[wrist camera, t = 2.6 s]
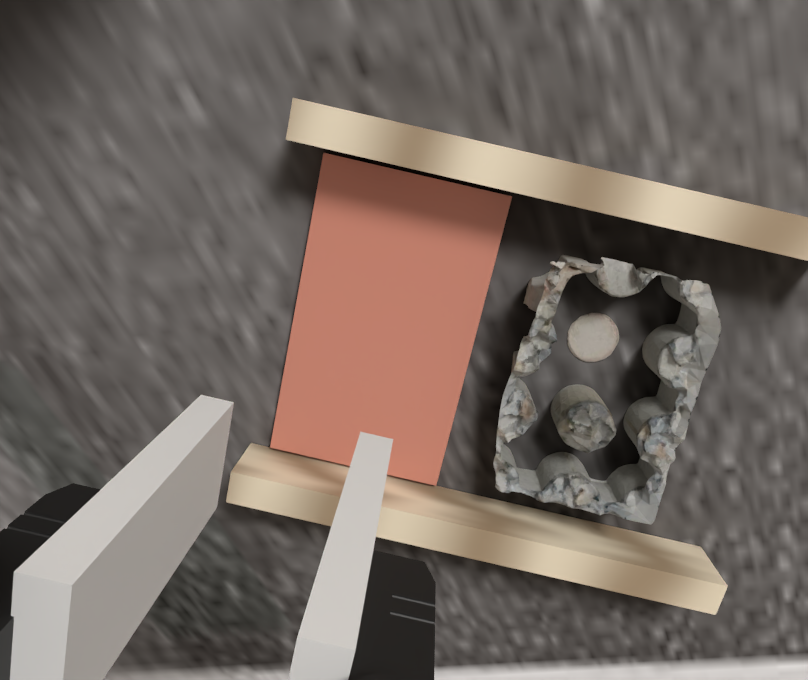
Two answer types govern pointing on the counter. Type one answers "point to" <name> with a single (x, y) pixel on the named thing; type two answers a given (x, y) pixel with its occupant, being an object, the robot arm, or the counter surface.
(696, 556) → the channel
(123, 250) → the counter surface
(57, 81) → the counter surface
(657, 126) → the counter surface
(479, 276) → the plate
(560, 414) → the egg carton
